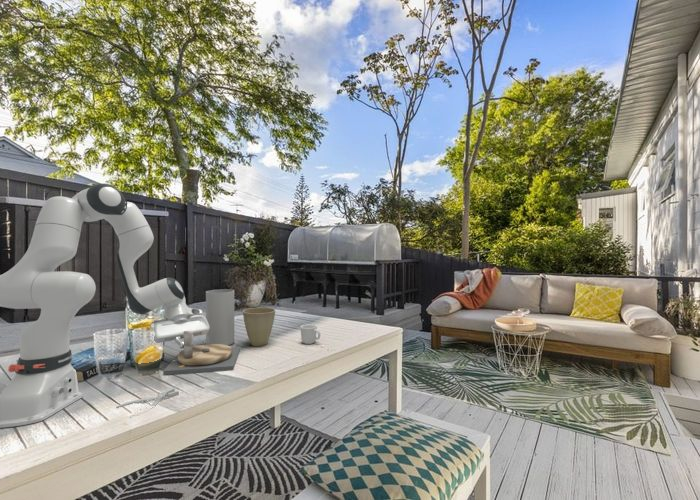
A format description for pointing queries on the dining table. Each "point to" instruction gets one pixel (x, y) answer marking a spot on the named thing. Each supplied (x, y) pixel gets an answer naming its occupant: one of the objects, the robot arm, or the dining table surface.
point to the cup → (309, 333)
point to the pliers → (161, 396)
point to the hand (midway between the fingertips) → (186, 346)
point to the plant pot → (258, 324)
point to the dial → (202, 352)
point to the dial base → (219, 366)
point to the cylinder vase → (220, 316)
